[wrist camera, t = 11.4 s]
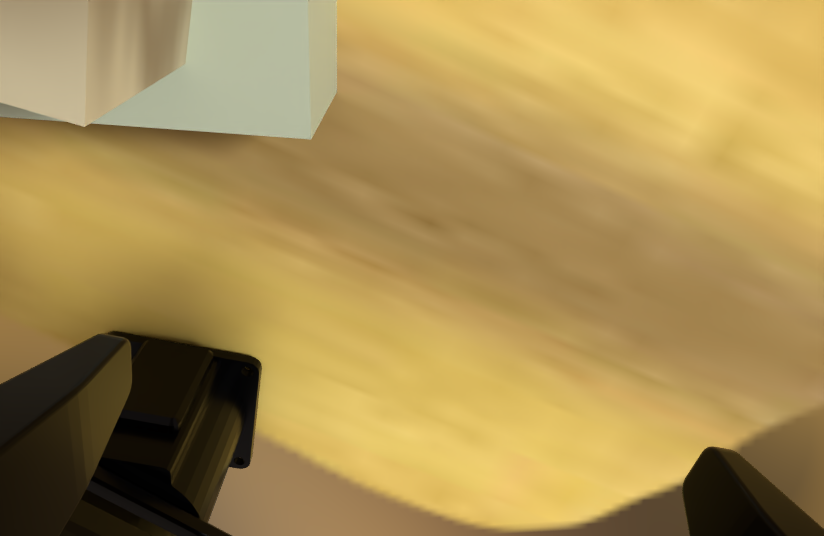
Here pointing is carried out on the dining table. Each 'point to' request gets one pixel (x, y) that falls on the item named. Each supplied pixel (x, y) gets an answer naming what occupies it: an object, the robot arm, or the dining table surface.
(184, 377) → the robot arm
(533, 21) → the dining table surface
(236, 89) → the sage block
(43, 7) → the birch cube
